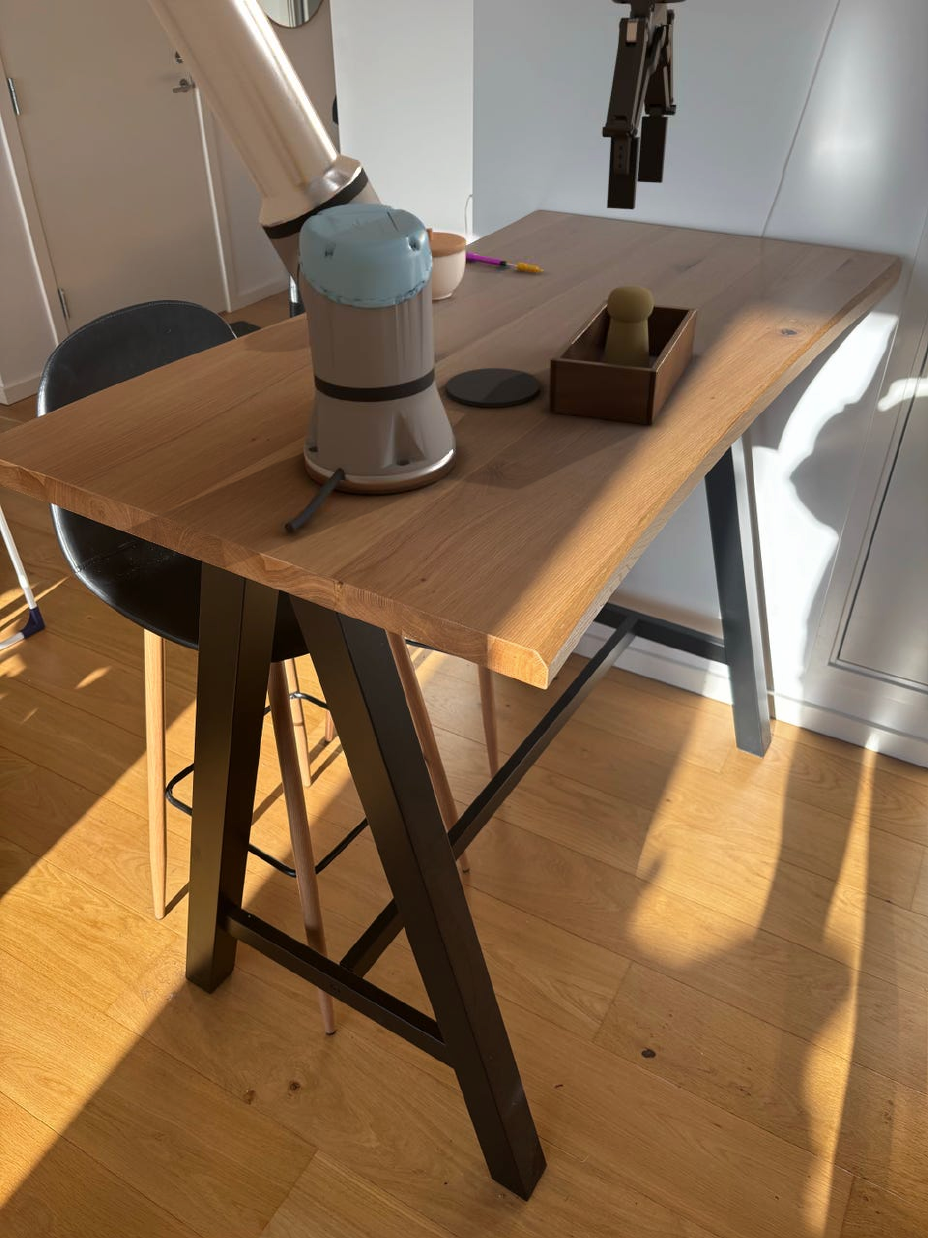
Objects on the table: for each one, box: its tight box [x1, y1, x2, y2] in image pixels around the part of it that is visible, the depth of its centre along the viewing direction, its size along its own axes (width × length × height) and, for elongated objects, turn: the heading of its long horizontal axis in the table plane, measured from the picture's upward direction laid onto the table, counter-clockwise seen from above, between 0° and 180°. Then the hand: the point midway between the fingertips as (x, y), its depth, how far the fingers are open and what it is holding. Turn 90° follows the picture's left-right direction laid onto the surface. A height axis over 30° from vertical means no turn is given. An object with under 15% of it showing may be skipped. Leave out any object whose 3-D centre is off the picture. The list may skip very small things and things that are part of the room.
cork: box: [602, 285, 655, 368], centre depth 113 cm, size 6×6×11 cm
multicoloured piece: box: [465, 252, 544, 274], centre depth 159 cm, size 3×1×16 cm
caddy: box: [548, 299, 698, 426], centre depth 114 cm, size 23×12×6 cm, turn 158°
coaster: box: [445, 367, 541, 408], centre depth 115 cm, size 11×11×1 cm
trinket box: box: [425, 227, 467, 301], centre depth 145 cm, size 11×11×9 cm
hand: (636, 194), depth 104 cm, fingers open, 13 cm apart
